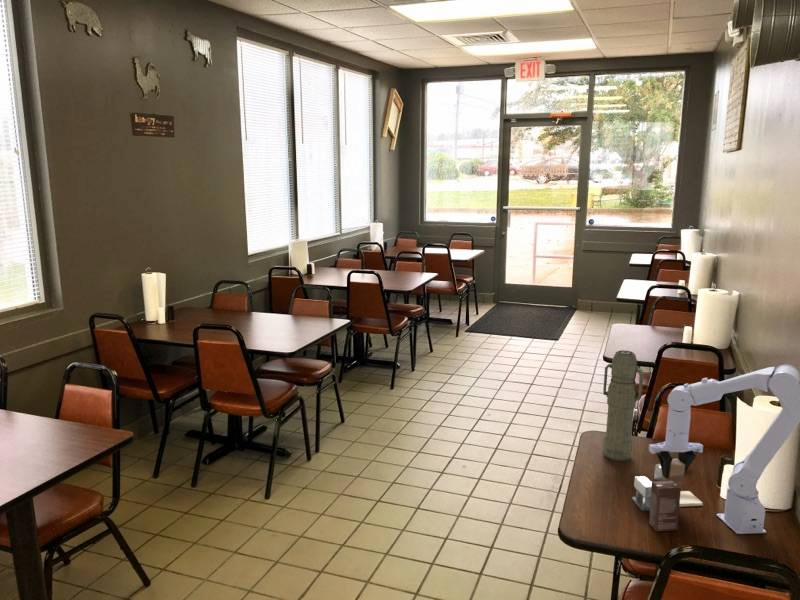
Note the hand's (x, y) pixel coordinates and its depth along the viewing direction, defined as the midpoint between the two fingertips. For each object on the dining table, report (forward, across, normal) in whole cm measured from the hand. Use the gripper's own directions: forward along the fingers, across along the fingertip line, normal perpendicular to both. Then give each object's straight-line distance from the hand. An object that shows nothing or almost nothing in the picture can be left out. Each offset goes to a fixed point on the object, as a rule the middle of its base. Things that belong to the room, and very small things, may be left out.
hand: (673, 476), depth 177 cm
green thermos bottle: (+8, +1, -32) cm, 33 cm away
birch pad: (+8, -5, -2) cm, 10 cm away
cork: (+8, -17, -29) cm, 35 cm away
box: (+8, +8, +11) cm, 16 cm away
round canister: (+8, -5, -15) cm, 18 cm away
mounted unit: (+8, +8, 0) cm, 11 cm away
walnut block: (+2, 0, 0) cm, 2 cm away
